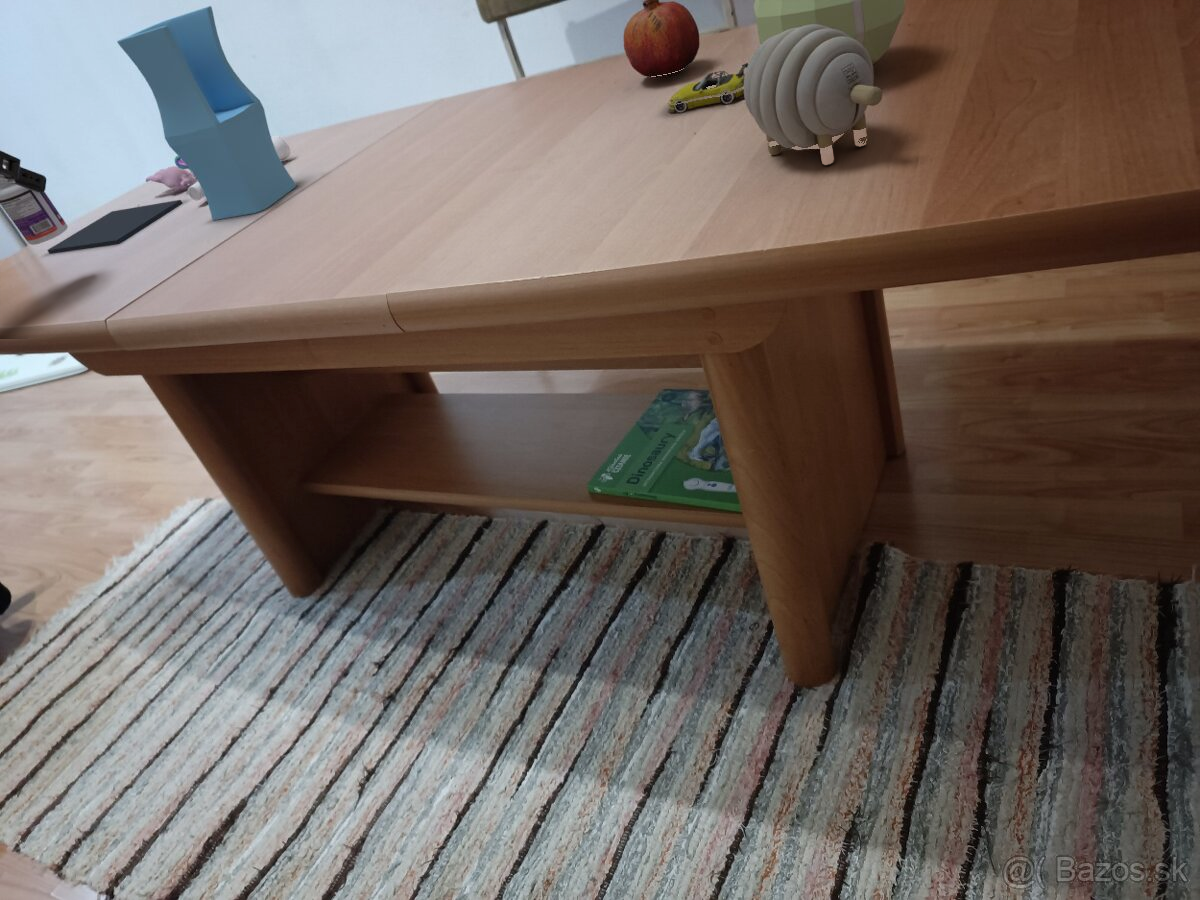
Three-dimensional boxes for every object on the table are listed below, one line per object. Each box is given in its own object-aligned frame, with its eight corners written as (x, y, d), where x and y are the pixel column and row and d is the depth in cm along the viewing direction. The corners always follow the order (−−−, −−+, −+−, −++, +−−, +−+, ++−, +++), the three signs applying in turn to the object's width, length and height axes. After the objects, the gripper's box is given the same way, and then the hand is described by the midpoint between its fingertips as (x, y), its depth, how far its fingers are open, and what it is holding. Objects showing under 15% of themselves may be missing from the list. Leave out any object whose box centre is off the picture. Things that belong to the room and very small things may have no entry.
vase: (261, 212, 123) (161, 27, 109) (212, 220, 127) (109, 43, 113) (301, 182, 130) (211, 5, 116) (253, 191, 134) (161, 21, 120)
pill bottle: (46, 231, 121) (-1, 164, 115) (76, 224, 119) (31, 155, 114) (20, 249, 117) (-29, 180, 111) (52, 241, 115) (3, 170, 110)
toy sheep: (795, 122, 90) (778, 8, 84) (932, 136, 77) (924, 3, 71) (720, 164, 87) (696, 49, 80) (849, 186, 74) (833, 52, 67)
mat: (49, 253, 141) (47, 250, 141) (113, 214, 151) (111, 211, 150) (119, 243, 133) (116, 240, 132) (182, 203, 142) (180, 199, 142)
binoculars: (296, 157, 145) (282, 130, 142) (240, 198, 133) (224, 169, 131) (248, 168, 149) (234, 141, 146) (190, 208, 137) (174, 180, 135)
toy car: (675, 101, 108) (670, 76, 106) (754, 85, 104) (750, 60, 102) (664, 116, 104) (658, 91, 103) (746, 100, 100) (741, 74, 98)
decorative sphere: (879, 98, 88) (864, -66, 80) (747, 111, 97) (720, -35, 88) (925, 46, 97) (915, -106, 89) (799, 63, 106) (779, -75, 97)
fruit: (709, 74, 113) (692, -8, 107) (635, 97, 115) (615, 17, 109) (700, 55, 122) (684, -22, 116) (632, 77, 123) (612, 2, 117)
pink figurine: (232, 182, 150) (165, 181, 155) (217, 148, 146) (150, 148, 151) (208, 198, 145) (141, 196, 150) (193, 164, 142) (124, 162, 147)
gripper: (-84, 93, 98) (66, 153, 113) (-147, 112, 104) (3, 166, 119) (-92, 157, 97) (60, 209, 112) (-155, 172, 104) (-4, 220, 119)
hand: (30, 187), depth 116 cm, fingers closed on pill bottle, 5 cm apart
